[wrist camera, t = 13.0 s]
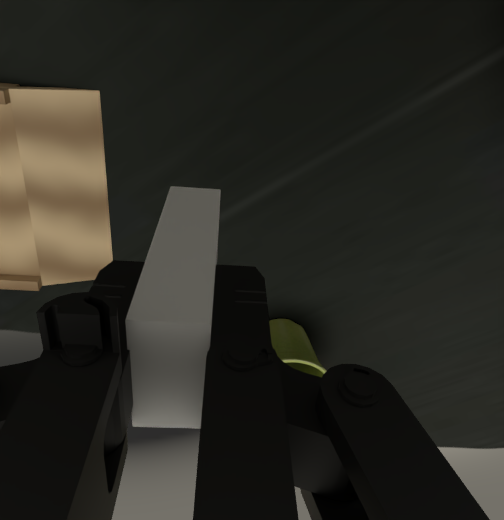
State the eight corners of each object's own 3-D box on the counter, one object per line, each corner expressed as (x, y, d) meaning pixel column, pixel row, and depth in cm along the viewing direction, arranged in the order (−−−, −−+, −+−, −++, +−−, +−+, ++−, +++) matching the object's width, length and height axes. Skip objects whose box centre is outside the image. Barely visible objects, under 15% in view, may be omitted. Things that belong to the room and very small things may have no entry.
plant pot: (227, 314, 49) (226, 372, 41) (313, 296, 48) (328, 351, 40) (248, 376, 53) (250, 438, 46) (327, 360, 52) (342, 421, 45)
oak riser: (-128, 69, 37) (-168, 77, 33) (111, 89, 38) (98, 98, 34) (-69, 261, 45) (-95, 284, 42) (123, 271, 47) (114, 294, 43)
